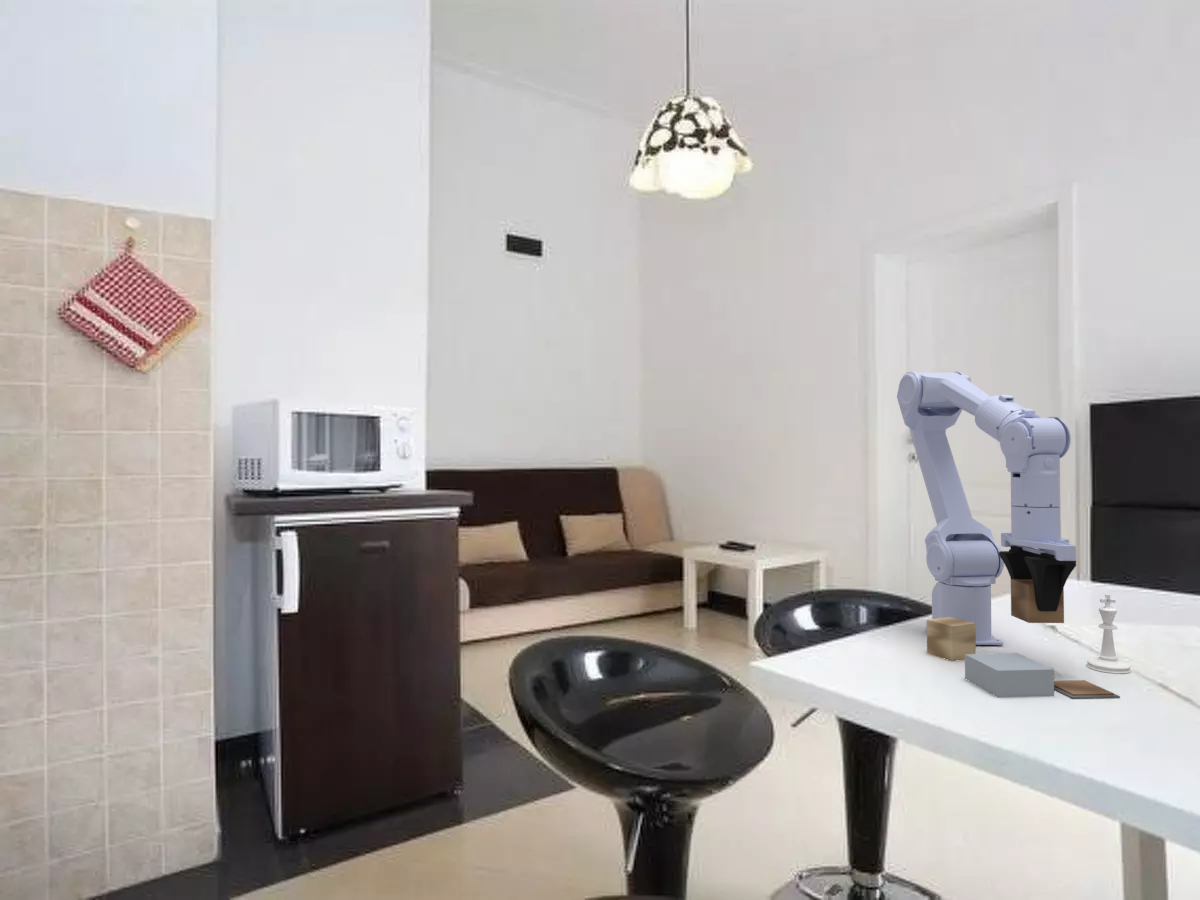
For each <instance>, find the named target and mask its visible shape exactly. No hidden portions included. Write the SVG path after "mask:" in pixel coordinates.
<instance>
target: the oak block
mask: <svg viewBox="0 0 1200 900" xmlns="http://www.w3.org/2000/svg"><path fill="white" fill-rule="evenodd" d="M926 627H927V630H926V654H928V655H931V656H934V655H935V657H937V656H939V657H938V658H940V657H941V658H940V659H943V658H945V659H944V660H946V659H948V660H947V661H949V660H951V661H950V662H957V661H956V660H959V661H965V660H964V659H965V654H977V648H976V647H977V645H976V623H972V622H968V621H965V620H961V619H957V618H953V617H943V618H935V619H932V618H928V619H926Z"/></svg>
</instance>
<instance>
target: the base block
mask: <svg viewBox="0 0 1200 900" xmlns="http://www.w3.org/2000/svg"><path fill="white" fill-rule="evenodd" d="M1054 672H1055V669H1054V668H1051V667H1049V666H1047V665H1046V664H1042V663H1041V662H1038V661H1036V660H1034V659H1031V658H1029V657H1027V656H1025V655H1022V654H1020V653H1018V652H1011V653H1010V652H1009V653H1005V652H1004V653H1003V652H1002V653H999V652H998V653H976V654H965V660H964V679H965V680H966V679H967V680H966V681H968V680H969V681H970V683H971V682H972V684H973V683H974V684H973V685H975V684H976V685H975V686H977V687H978V686H979V687H978V688H980V687H981V688H980V689H982V690H984V691H985V690H986V692H987V691H988V693H989V694H991V695H993V694H994V695H995V696H994V695H993V696H994V697H996V696H997V697H996V698H1028V697H1034V698H1035V697H1054V696H1055V690H1054V681H1055V673H1054ZM969 681H968V682H969Z"/></svg>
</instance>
